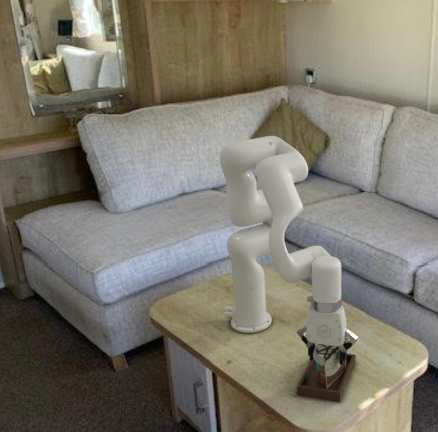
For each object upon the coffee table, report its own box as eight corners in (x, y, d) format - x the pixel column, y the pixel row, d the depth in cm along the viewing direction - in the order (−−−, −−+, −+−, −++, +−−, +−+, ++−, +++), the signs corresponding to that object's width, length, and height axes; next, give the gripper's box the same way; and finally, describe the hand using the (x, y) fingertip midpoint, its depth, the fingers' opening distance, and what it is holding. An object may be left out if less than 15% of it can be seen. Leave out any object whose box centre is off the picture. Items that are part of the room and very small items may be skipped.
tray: (297, 395, 163) (296, 386, 162) (316, 357, 179) (316, 349, 178) (340, 402, 161) (340, 393, 160) (355, 362, 177) (355, 354, 176)
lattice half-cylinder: (329, 360, 176) (329, 330, 173) (348, 367, 173) (348, 337, 170) (304, 384, 166) (303, 352, 163) (323, 391, 164) (323, 359, 160)
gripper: (290, 305, 160) (292, 363, 166) (356, 314, 156) (355, 372, 163) (299, 292, 166) (300, 347, 173) (362, 299, 163) (361, 356, 170)
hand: (327, 359), depth 168 cm, fingers open, 7 cm apart
